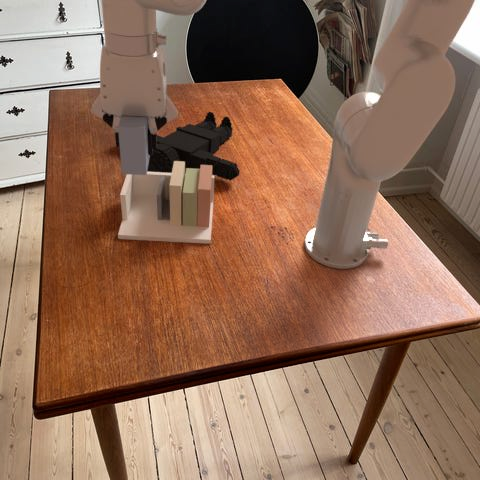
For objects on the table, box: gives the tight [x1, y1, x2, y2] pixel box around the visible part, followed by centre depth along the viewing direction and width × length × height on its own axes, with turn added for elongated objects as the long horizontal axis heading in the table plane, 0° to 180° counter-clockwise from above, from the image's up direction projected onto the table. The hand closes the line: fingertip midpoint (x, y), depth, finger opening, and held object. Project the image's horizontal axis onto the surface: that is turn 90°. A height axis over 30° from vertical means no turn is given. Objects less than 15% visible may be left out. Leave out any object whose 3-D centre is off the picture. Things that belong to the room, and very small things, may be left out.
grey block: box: [118, 116, 150, 175], centre depth 83 cm, size 4×11×8 cm, turn 3°
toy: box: [147, 111, 240, 182], centre depth 122 cm, size 33×8×30 cm
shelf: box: [117, 161, 216, 245], centre depth 99 cm, size 18×14×10 cm
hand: (137, 149), depth 85 cm, fingers closed on grey block, 4 cm apart
